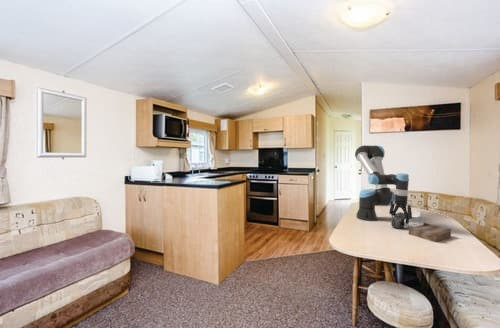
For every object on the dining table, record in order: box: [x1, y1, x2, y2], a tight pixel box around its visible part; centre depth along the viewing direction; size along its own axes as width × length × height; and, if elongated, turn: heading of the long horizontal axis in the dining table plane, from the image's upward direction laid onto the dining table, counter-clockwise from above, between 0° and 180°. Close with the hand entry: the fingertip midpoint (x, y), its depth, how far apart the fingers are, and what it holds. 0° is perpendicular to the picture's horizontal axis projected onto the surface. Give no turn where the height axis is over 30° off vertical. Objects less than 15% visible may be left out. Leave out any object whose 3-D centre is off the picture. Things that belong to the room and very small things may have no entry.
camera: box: [390, 211, 406, 229], centre depth 179 cm, size 13×10×10 cm
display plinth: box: [408, 222, 452, 243], centre depth 162 cm, size 16×18×6 cm
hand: (399, 225), depth 179 cm, fingers closed on camera, 8 cm apart
